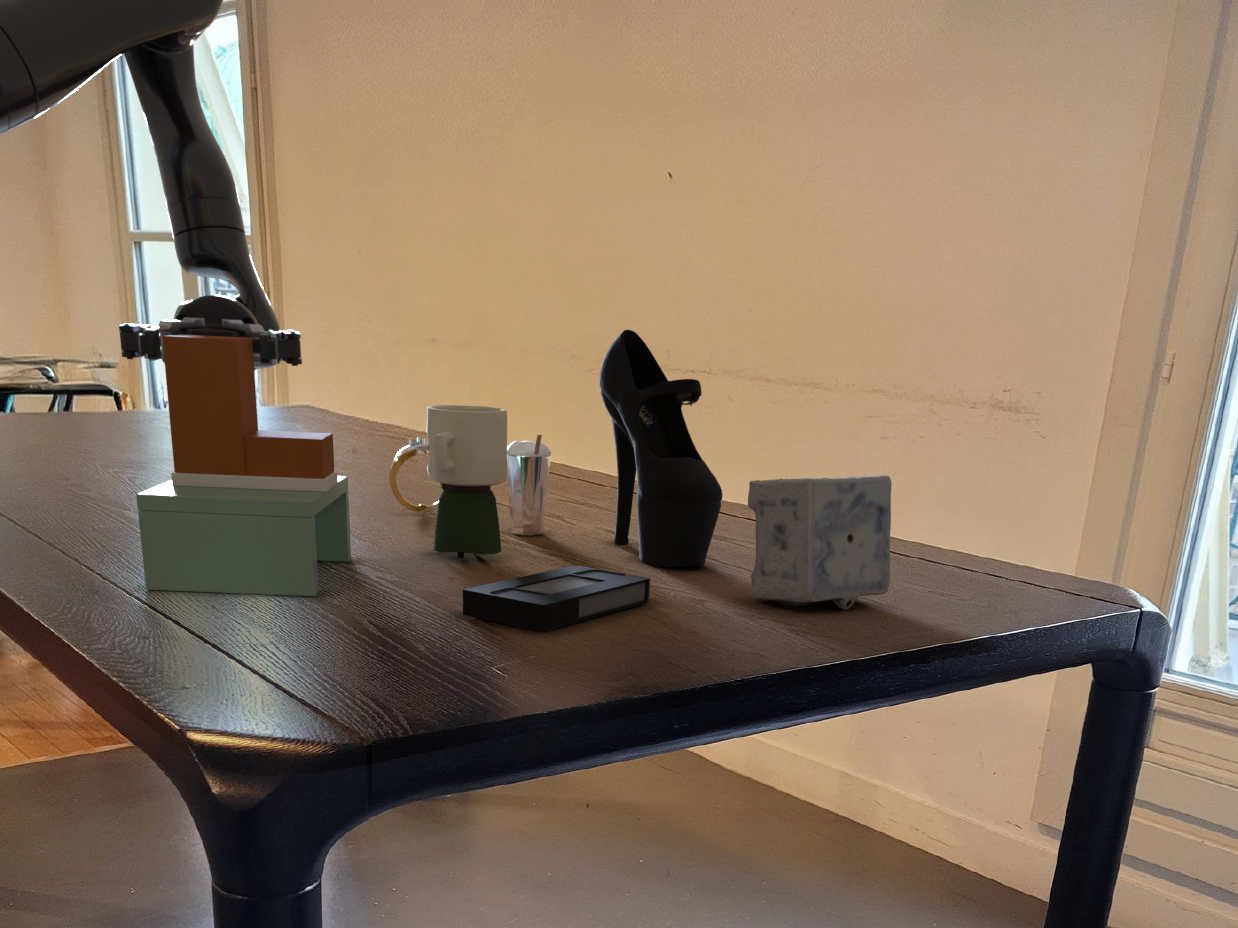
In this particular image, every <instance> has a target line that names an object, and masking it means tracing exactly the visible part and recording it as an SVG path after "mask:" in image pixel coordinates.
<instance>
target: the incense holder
mask: <svg viewBox="0 0 1238 928" xmlns="http://www.w3.org/2000/svg"><path fill="white" fill-rule="evenodd" d="M748 485H749V489H748V495H747V507H748V508H749V509H750V510H752V511H753V512H754V514H755V563H754V567H753V570H752V573H751V575H750V579H751V580H750V594H751V595H752V598H754V599H755V600H761V601H767V600H771V601H772V600H774V601H783V602H795V603H815V602H816V603H817V602H823V601H830V600H831V601H832V602H834V603H835V605H836V606H837V607H838V608H839V609H841V610H843V611H845V610H849V609H850V608H851V607H852V606H853V605H854V603H855V602H856V600H857V598H859V597H862V596H863V597H864V596H865V597H866V596H879V595H885V594H886V593H888V592H889V587H890V583H891V531H892V530H891V529H892V527H891V526H892V479H891V478H890V475H885V474H884V475H882V474H877V475H876V474H875V475H859V476H846V477H834V478H830V477H821V478H812V477H801V478H777V479H776V478H775V479H765V480H764V479H763V480H761V479H760V480H759V479H757V480H750V481H749V483H748Z"/></svg>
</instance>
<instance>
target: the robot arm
mask: <svg viewBox="0 0 1238 928" xmlns="http://www.w3.org/2000/svg"><path fill="white" fill-rule="evenodd" d="M223 3H224V0H0V136H1V135H3V134H5V133H7V132H10V131H12V130H13V129H15V128H18V127H20V126H22V125H24V124H25V123H27V122H30V121H32V120H34V119H36V118H38V117H39V116H41V115H42V114H44V113H45V112H47V111H48V110H50V109H52V108H53V107H55V106H56V105H57V104H60V102H62V101H64V100H65V99H66V98H68V97H69V96H70V95H72V94H73V93H75V92H76V91H78V90H79V88H81V87H82V86H83V85H85V84H86V83H87V82H88V81H90V80H91V79H92V78H93V77H94V76H96V75H97V74H98V73H100V72H101V71H102V70H103V69H104V68H105V67H107V66H108V65H109V64H110V63H111V62H113V61H115V60H116V59H118V58H119V57H120V56H122V55H123V56H124V59H125V62H126V65H127V66H128V70H129V73H130V76H131V79H132V83H133V85H134V89H135V91H136V94H137V97H138V100H139V103H140V107H141V110H142V112H143V116H144V120H145V122H146V123H145V124H146V126H147V129H148V132H149V135H150V139H151V142H152V146H153V150H154V154H155V158H156V162H157V167H158V170H159V175H160V180H161V184H162V188H163V194H164V199H165V204H166V209H167V214H168V219H169V223H170V229H171V233H172V238H173V245H174V249H175V255H176V258H177V261H178V264H179V265H180V267H181V269H182V270H183V271H184V272H186V273H188V274H190V275H192V276H197V277H202V278H210V279H215V280H216V279H217V280H221V281H223V282H224V281H225V282H227V283H229V284H230V285H231V286H232V287H234V288H235V290H236V291H237V292H238V295H236V296H226V295H220V294H209V295H202V296H199V297H196V298H193V299H191V300H186V301H183V302H182V303H180V304H179V305H178V306H177V308H176V309H175V312H174V316H173V319H162V320H160V321H159V322H158V325H157V326H155V325H154V326H153V324H141V322H139V321H138V322H137V321H134V322H133V323H129V322H127V323H126V322H125V323H123V324H119V325H118V330H119V338H120V339H119V342H120V350H121V357H122V358H126V360H134V359H135V358H142V357H143V358H144V359H148V361H154V362H155V361H158V360H162V362H163V364H165V361H164V350H163V339H162V336H168V335H182V334H184V335H204V336H224V337H243V338H252V342H253V358H254V372H255V371H256V370H262V369H268V368H272V367H273V366H276V365H281V362H284V363H286V364H287V365H291V366H292V367H298V366H299V365H303V358H302V345H301V339H302V337H301V336H302V334H301V333H300V332H299V331H296V330H293V329H292V328H291V329H288V328H287V329H286V330H282V327H281V323H280V321H279V319H278V317H277V314H276V312H275V310H274V308H273V306H272V304H271V302H270V300H269V298H268V296H267V294H266V292H265V290H264V287H263V286H262V283H261V281H260V278H259V276H258V273H257V271H256V268H255V265H254V262H253V260H252V256H251V253H250V249H249V244H248V240H247V235H246V230H245V225H244V218H243V214H242V208H241V204H240V199H239V195H238V189H237V186H236V182H235V179H234V175H233V172H232V170H231V167H230V164H229V162H228V160H227V158H226V156H225V154H224V152H223V150H222V149H221V146H220V145H219V142H218V140H217V138H216V137H215V135H214V133H213V131H212V129H211V127H210V125H209V123H208V120H207V118H206V115H205V113H204V109H203V107H202V104H201V100H200V95H199V91H198V86H197V80H196V79H197V78H196V67H195V49H194V48H195V46H194V45H195V44H194V43H195V42H196V41H198V39H199V38H200V36H201V35H202V34H203V33H204V32H206V30H207V29H209V28H210V26H211V25H212V24H213V23H214V21H215V20H216V19H217V17H218V15H219V14H220V10H221V9H222V6H223Z"/></svg>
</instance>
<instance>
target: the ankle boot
mask: <svg viewBox="0 0 1238 928" xmlns="http://www.w3.org/2000/svg"><path fill="white" fill-rule="evenodd" d="M162 339H163V350H164V361H165V363H164V371H165V382H166V383H165V384H166V392H167V393H166V394H167V404H168V405H167V406H168V414H169V415H168V416H169V426H170V438H171V447H172V449H171V450H172V459H173V460H172V461H173V469H174V471H173V472H171V474H170V475H171V480H172V485H173V486H187V487H210V488H234V489H258V490H282V491H305V492H327V491H328V490H329V489H331V488H332V487H333V486H334V485H336V484H337V483H338V477H337V476H338V471H337V470H335V454H334V453H335V452H334V434H333V433H331V432H311V431H286V430H267V429H266V430H264V429H259V422H258V421H259V419H258V406H257V391H256V375H255V371H254V358H253V342H252V338H243V337H224V336H204V335H184V334H182V335H168V336H162Z"/></svg>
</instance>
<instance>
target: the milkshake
mask: <svg viewBox="0 0 1238 928" xmlns="http://www.w3.org/2000/svg"><path fill="white" fill-rule="evenodd" d="M542 436H543V435H542V434H537V435H536V439H535V441H532V440H514V441H512V442H510V444H509V445H507V484H508V486H507V487H508V502H509V520H510V533H512V534H514V535H518V536H527V537H528V536H530V537H531V536H541V535H543V534H544V529H545V518H546V507H547V496H548V485H549V476H550V475H549V474H550V467H551V466H550V465H551V459H552V451H551V449H550V448H549V447H548V446H547V445H546V444H545V443H544V442H542Z"/></svg>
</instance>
